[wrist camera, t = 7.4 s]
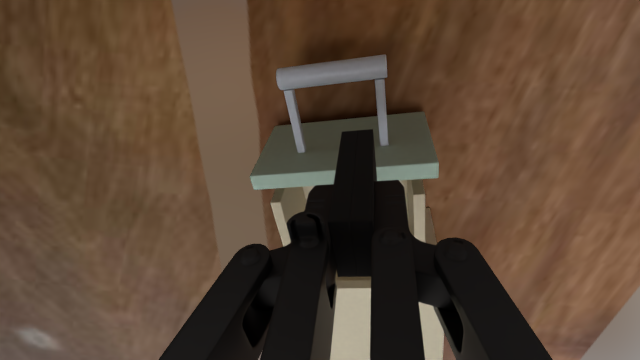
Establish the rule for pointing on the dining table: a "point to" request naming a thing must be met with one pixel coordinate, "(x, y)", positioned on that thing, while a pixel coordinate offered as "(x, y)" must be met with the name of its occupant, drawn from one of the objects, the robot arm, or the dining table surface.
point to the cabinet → (356, 315)
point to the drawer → (324, 140)
